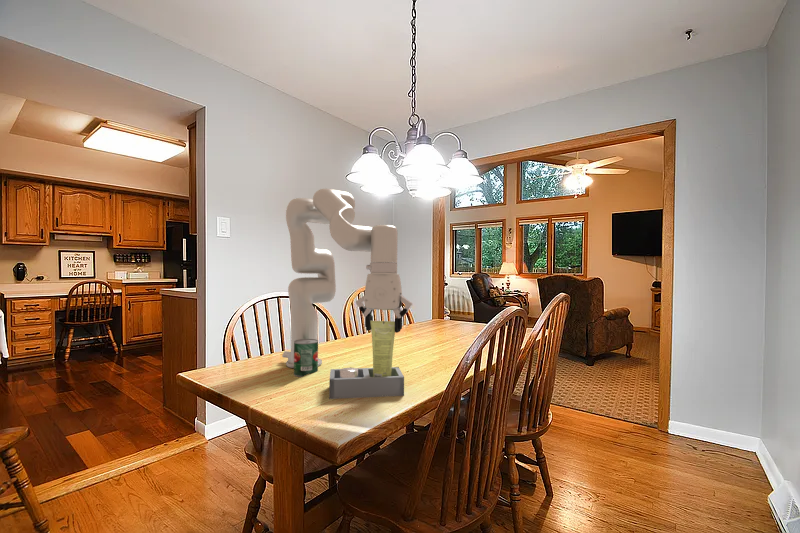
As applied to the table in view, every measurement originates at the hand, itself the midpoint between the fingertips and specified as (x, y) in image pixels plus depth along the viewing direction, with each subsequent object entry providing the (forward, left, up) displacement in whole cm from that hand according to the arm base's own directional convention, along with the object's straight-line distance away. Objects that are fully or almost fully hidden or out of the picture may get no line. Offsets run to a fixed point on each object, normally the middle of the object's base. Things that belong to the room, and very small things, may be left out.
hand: (383, 330), depth 109 cm
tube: (0, 0, -17) cm, 17 cm away
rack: (-4, -2, -18) cm, 18 cm away
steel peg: (-8, -4, -17) cm, 19 cm away
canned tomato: (-31, +10, -18) cm, 37 cm away
